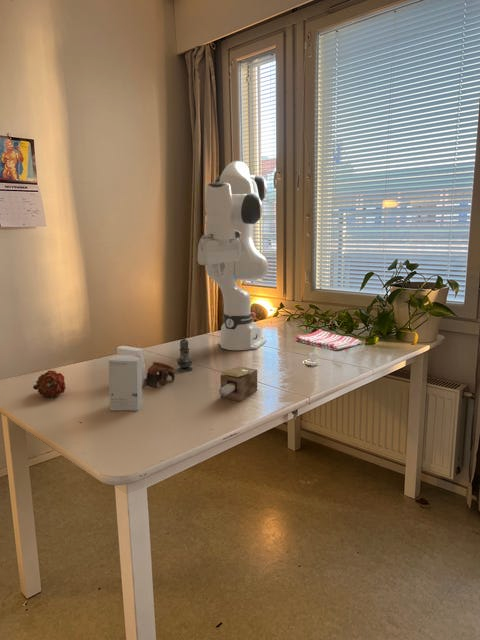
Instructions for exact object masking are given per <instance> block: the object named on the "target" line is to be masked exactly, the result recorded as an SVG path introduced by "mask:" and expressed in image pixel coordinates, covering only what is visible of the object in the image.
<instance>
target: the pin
mask: <svg viewBox="0 0 480 640" xmlns="http://www.w3.org/2000/svg"><path fill="white" fill-rule="evenodd" d="M236 389H237V382H234V381H233V382H231V383H229V384H227V385H225V386H223V387H222V388H221V387H220V388H219V390H218V393H219V395H220V397H221V396H226V395H228V394H229V393H231V392H233V391H234V390H236Z"/></svg>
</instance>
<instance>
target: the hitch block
mask: <svg viewBox="0 0 480 640" xmlns="http://www.w3.org/2000/svg"><path fill="white" fill-rule="evenodd" d="M234 368H235V369H241V370H246V371H249V374H246V375H243V376H239V377H235V376H230V375H224V374H220V388H222V387H223V386H225V385H227V384H229V383H231V382H233V381H234V382H237V389H236V390H234V391H233V392H231V393H229V394H228V395H226V396H221V395H220V397H221V398H224V399H227V400H233V401H236V402H242V401H244V400H246V399H247V398H249V397H250V396H252V395H253V394H255V393H257V392H258V369H255V368H251V367H244V366H238V365H237V366H235V367H234ZM256 391H257V392H256ZM254 392H255V393H254ZM251 394H252V395H251Z"/></svg>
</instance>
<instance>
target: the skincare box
mask: <svg viewBox="0 0 480 640" xmlns="http://www.w3.org/2000/svg"><path fill="white" fill-rule="evenodd" d="M108 384H109V385H108V388H109V390H108V391H109V394H108V395H109V396H108V397H109V410H110V411H112V412H113V411H114V412H115V411H123V412H124V411H126V412H127V411H135V412H137V411H139V410H140V407H141V406H142V404H143V395H142V393H143V390H142V388H143V386H142V372H141V356H130V355H118V354H116V355H112V357H110V358H109V359H108Z"/></svg>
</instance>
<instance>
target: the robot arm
mask: <svg viewBox="0 0 480 640" xmlns="http://www.w3.org/2000/svg"><path fill="white" fill-rule="evenodd" d="M267 192H268V183H267V180H266V178H265V177H264V176H263V175H261V174H250V169H249V167H248V165H247V164H246V163H245V162H243V161H240V160H233V161H232V162H230V163H228V164H227V165H226V166H225V167H224V169H223V170H222V171H221V175H219V176H217V177H216V179H215V181H214V182H210V183H208V184H207V185H206V187H205V197H204V215H205V217H206V220H205V222H204V223H205V225H204V226H205V227H204V228H205V229H204V230H205V234H203V235H202V236H201V237H200V239H199V242H198V247H197V257H196V258H197V263H198V265H200V266H205V272H206V274H207V276H208V277H209V278H210V279H212V280H213V281H214V282H215V283H216V285H217V286H218V287H219V289H220V291H221V295H222V298H223V299H222V300H223V301H222V302H223V313H222V323H223V324H222V325H221V327H220V328H221V329H220V340H219V341H218V342H217V344H218V345H219V346H220V348H222V349H225V350H229V351H247V350H248V351H250V350H258V349H259V348H260V347H261V346H263V345H264V344H265V343H267V338H265V337H262V329H261V328H260V327H259V326H258V325H257V324H256V323H255V322H254V320H253V319H254V318H255V317H256V315H257V314H256V312H251V295H250V293H249V292H248V291H247V290H245V289H244V288H241V287H239V286H238V284H237V281H246V282H247V281H257V280H262V279H264V278H265V277H266V276H267V274H268V272H269V262H268V260H267V258H266V256H264V255H263V254H261V253H260V251H258V249H257V248H256V246H255V243H254V242H255V241H254V226H255V224H256V223H257V222H259V220H260V219H261V217H262V215H263V204H262V202H263V201H264V199H265V198H266V195H267Z"/></svg>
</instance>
